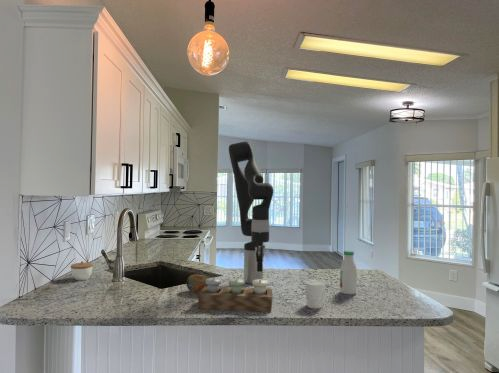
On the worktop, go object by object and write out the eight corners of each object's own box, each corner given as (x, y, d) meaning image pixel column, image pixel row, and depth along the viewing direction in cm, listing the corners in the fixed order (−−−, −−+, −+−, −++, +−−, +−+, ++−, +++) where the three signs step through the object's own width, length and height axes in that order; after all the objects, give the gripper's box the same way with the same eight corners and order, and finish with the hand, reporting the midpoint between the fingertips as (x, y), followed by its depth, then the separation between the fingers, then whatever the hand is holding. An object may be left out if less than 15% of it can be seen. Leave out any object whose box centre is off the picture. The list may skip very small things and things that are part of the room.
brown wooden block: (272, 302, 160) (272, 288, 160) (271, 311, 148) (271, 297, 148) (204, 299, 163) (204, 286, 163) (198, 308, 151) (198, 294, 151)
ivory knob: (268, 291, 157) (268, 279, 157) (267, 296, 151) (267, 283, 151) (252, 291, 158) (252, 278, 158) (251, 295, 151) (251, 282, 151)
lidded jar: (87, 281, 190) (87, 263, 190) (66, 281, 191) (66, 263, 191) (96, 276, 201) (96, 259, 201) (76, 276, 201) (76, 259, 201)
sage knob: (245, 290, 158) (245, 278, 158) (243, 295, 152) (243, 282, 152) (229, 290, 159) (230, 278, 159) (227, 294, 152) (227, 282, 152)
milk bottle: (359, 292, 176) (359, 251, 176) (351, 296, 170) (352, 253, 170) (344, 289, 181) (345, 249, 181) (336, 292, 176) (337, 251, 176)
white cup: (320, 310, 150) (320, 286, 150) (302, 307, 154) (302, 283, 154) (327, 305, 157) (327, 282, 157) (309, 302, 161) (310, 279, 161)
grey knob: (222, 290, 159) (222, 277, 159) (219, 294, 153) (219, 281, 153) (207, 289, 160) (207, 277, 160) (203, 293, 153) (204, 281, 153)
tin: (185, 291, 175) (186, 273, 175) (189, 289, 178) (190, 272, 178) (212, 296, 168) (212, 277, 168) (216, 294, 171) (216, 276, 171)
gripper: (252, 228, 161) (252, 267, 161) (250, 231, 148) (249, 274, 148) (269, 228, 160) (269, 268, 160) (268, 232, 147) (268, 275, 147)
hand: (259, 271), depth 154 cm, fingers closed
